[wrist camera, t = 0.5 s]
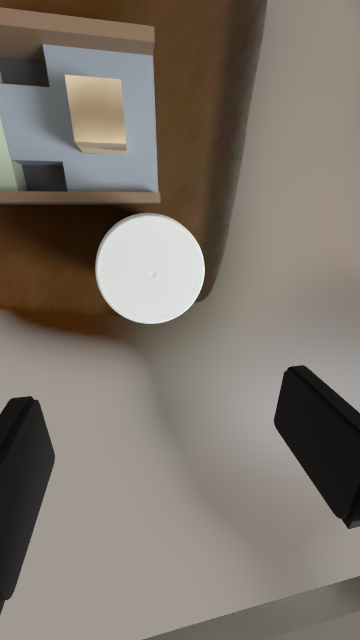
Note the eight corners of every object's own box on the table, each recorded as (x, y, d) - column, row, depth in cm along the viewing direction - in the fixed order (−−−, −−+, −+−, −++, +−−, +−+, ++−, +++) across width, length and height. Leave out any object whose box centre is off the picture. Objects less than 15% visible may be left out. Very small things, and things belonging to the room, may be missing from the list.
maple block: (76, 99, 24) (64, 74, 19) (122, 102, 24) (121, 79, 20) (83, 153, 25) (74, 141, 21) (127, 155, 26) (126, 143, 22)
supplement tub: (155, 297, 36) (169, 344, 23) (96, 265, 33) (71, 297, 20) (190, 240, 34) (228, 255, 20) (129, 199, 30) (128, 185, 17)
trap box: (-116, 33, 22) (-181, -16, 17) (150, 60, 26) (154, 26, 21) (-54, 204, 27) (-91, 202, 23) (156, 204, 31) (160, 202, 27)
